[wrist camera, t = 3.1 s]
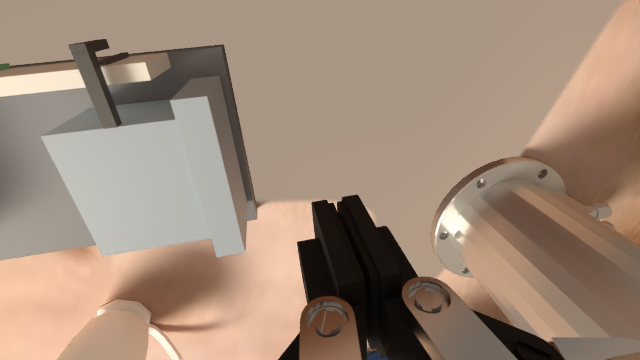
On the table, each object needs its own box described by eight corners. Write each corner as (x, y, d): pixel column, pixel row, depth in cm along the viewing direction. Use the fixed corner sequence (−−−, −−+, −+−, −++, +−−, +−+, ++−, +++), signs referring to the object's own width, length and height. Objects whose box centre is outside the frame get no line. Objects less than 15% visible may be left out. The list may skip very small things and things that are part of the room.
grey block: (208, 27, 18) (191, 33, 13) (247, 205, 23) (245, 252, 19) (60, 41, 17) (-13, 52, 12) (136, 222, 22) (105, 276, 18)
